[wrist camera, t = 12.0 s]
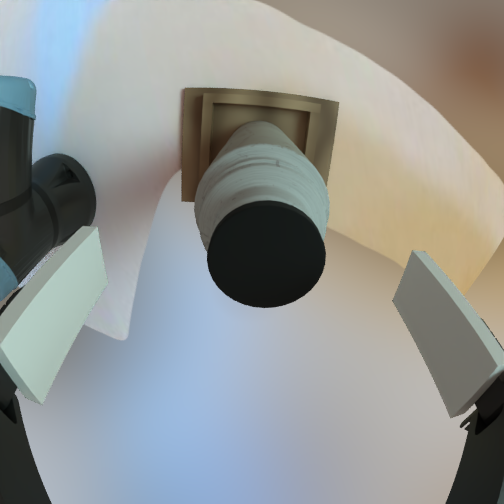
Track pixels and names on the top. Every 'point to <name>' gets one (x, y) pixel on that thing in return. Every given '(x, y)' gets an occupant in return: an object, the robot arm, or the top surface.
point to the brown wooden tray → (247, 110)
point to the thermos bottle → (263, 218)
